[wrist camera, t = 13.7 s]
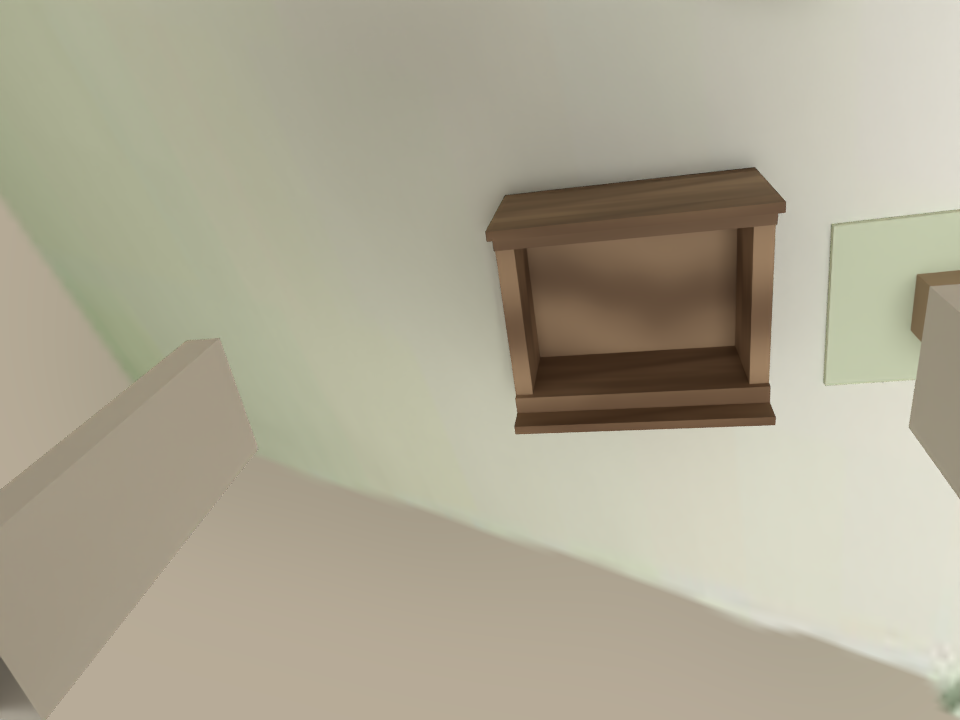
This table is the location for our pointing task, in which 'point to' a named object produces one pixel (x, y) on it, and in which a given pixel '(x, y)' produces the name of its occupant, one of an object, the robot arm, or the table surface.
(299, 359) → the table surface
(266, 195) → the table surface
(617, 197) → the walnut box
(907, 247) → the lid
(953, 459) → the robot arm
